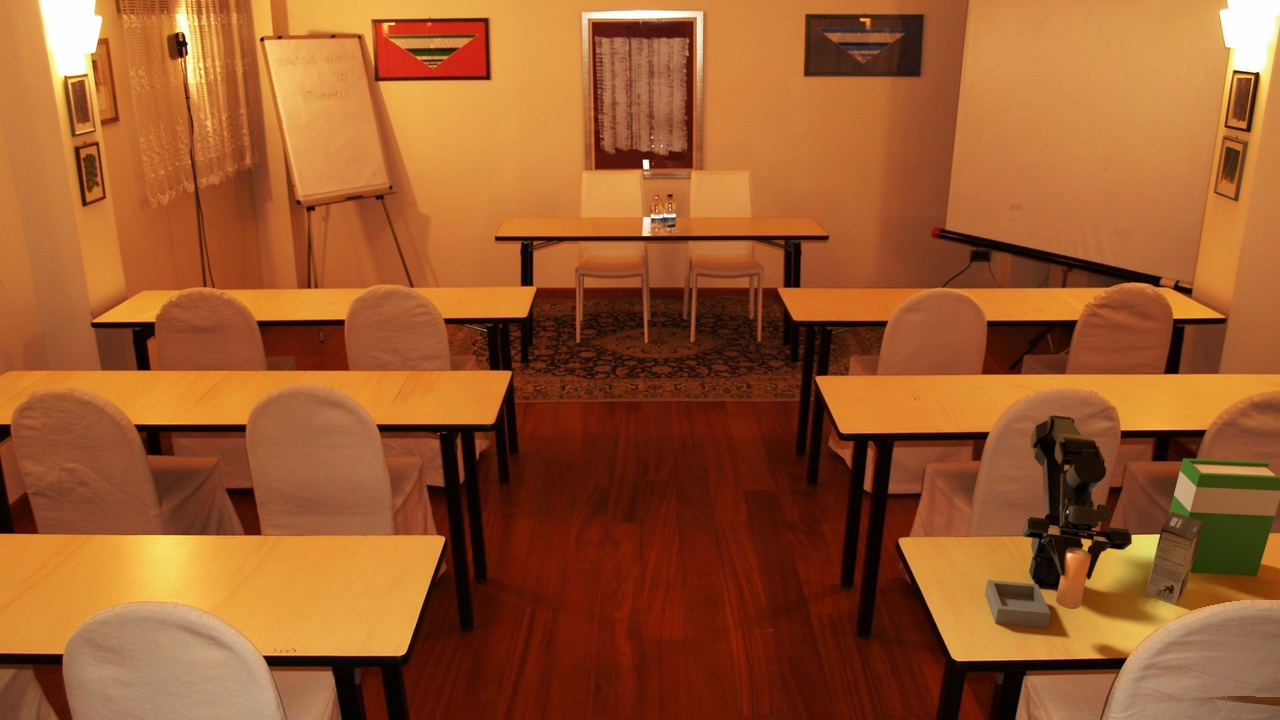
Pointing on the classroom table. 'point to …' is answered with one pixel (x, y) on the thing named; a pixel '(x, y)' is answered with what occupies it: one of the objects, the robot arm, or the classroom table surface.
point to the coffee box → (1174, 558)
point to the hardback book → (1228, 512)
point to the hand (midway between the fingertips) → (1075, 577)
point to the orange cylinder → (1073, 578)
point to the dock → (1017, 604)
